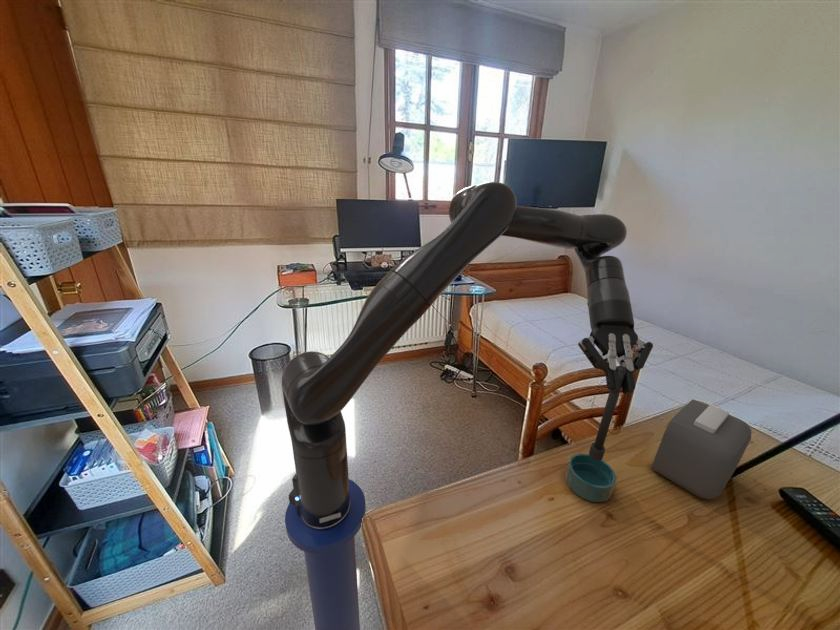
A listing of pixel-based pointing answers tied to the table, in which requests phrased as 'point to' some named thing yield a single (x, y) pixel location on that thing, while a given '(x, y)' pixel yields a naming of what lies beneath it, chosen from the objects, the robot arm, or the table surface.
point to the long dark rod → (606, 420)
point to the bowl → (590, 478)
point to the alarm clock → (702, 449)
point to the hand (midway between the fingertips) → (621, 392)
